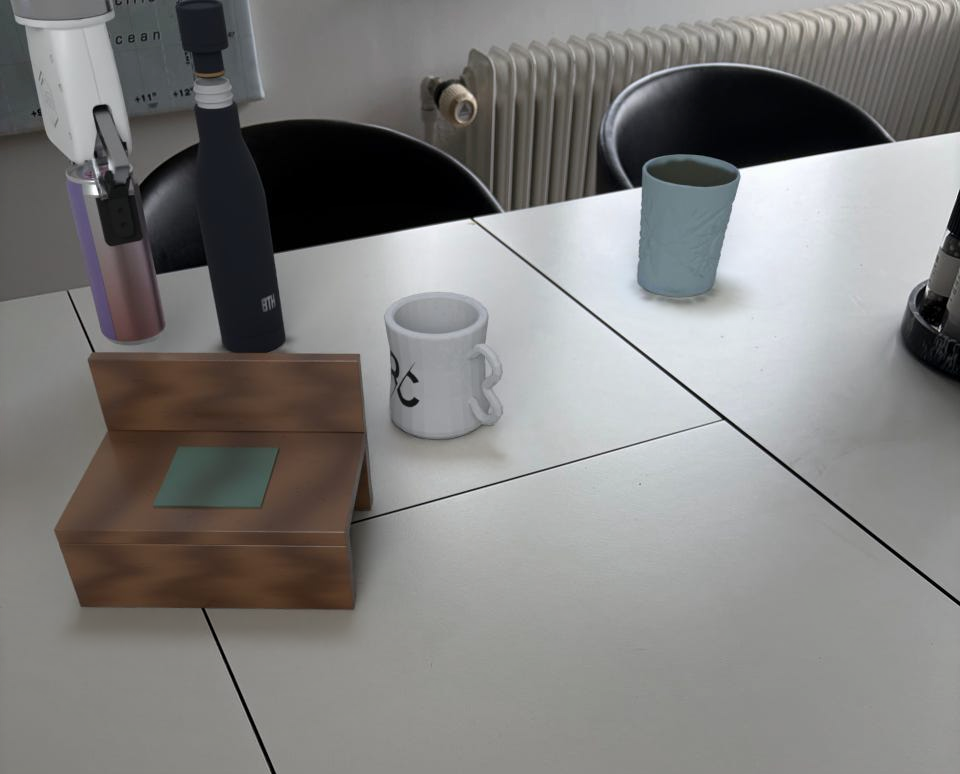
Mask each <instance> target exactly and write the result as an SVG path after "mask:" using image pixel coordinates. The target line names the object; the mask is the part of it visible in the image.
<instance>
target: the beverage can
mask: <svg viewBox="0 0 960 774" xmlns="http://www.w3.org/2000/svg"><path fill="white" fill-rule="evenodd" d="M129 164H130V170H129V172H130V174H129V175H130V176H131V181H132V185H133V188H134V194H135V199H136V204H137V209H138V214H139V219H140V224H141V229H142V234H143V238H142V240H141V241H137V242H132V243H127V244H122V245H117V246H109V245H107V243H106V242H105V239H104V235H103V230H102V226H101V222H100V217H99V213H98V208H97V204H96V199H95V198H98V197H99V194H98V191H97V188H96V185H95V182H94V178H93V175H92V172H91V169H90V165H89V162H88V161H85V164H84V165H78V164H75V165H72V166H70V165H69V166H68V168H66V169H65V176H66V185H65V187H66V191H67V195H68V199H69V203H70V208H71V212H72V217H73V220H74V225H75V227H76V232H77V233H76V234H77V237H78V241H79V245H80V249H81V254H82V258H83V262H84V264H85V265H84V267H85V270H86V274H87V278H88V282H89V286H90V291H91V296H92V299H93V304H94V307H95V312H96V316H97V320H98V324H99V329H100V332H101V333H102V335H103V336H104V337H105V338H106V339H107V340H108V341H109V342H111V343H113V344H115V345H120V346H129V347H130V346H131V347H132V346H139V345H145V344H148V343H152V342H154V341H156V340H157V339H159V338H160V337H161V336H162V334H164V331H165V328H166V317H165V313H164V308H163V303H162V297H161V293H160V288H159V282H158V276H157V271H156V267H155V263H154V257H153V252H152V246H151V242H150V236H149V231H148V226H147V221H146V216H145V210H144V206H143V200H142V196H141V190H140V185H139V180H138V178H137V176H136V174H135V172H134V167H133V165H132V164H131V163H129ZM108 166H109V165H107V166H101V167H100V169H101V173H102V176H103V179H104V175H105V171H108V170H110V169H109V167H108Z"/></svg>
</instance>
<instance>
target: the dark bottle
mask: <svg viewBox="0 0 960 774" xmlns="http://www.w3.org/2000/svg"><path fill="white" fill-rule="evenodd" d="M174 8H175V13H176V14H175V15H176V19H177V24H178V30H179V36H180V42H181V47H182V48H181V49H182V50H183V51H185V52H188V53H191V57H192V63H193V68H194V69H193V73H194V75H195V76H196V78H197V79H195V80H194V81H193V87H192V91H193V92H194V94H195V95H194V100H195V102H196V103H195V104H194V107H193V110H194V111H193V112H194V116H195V121H196V122H195V123H196V127H197V134H198V139H199V141H198V147H197V148H198V149H197V153H196V154H197V155H196V156H197V157H196V163H195V172H194V173H195V174H194V175H195V177H194V191H195V192H194V193H195V195H194V196H195V206H196V211H197V216H198V221H199V227H200V231H201V238H202V242H203V248H204V253H205V258H206V264H207V268H208V273H209V280H210V285H211V290H212V295H213V300H214V307H215V311H216V318H217V322H218V327H219V331H220V339H221V343H222V345H223V347H224V349H225V350H227V351H229V352H230V353H270V352H271V351H274V350H276V349H277V348H280V347H281V346H282V345H283V344H284V343H285V341H286V331H285V322H284V316H283V308H282V303H281V302H282V301H281V295H280V289H279V281H278V274H277V267H276V261H275V260H276V259H275V253H274V245H273V239H272V232H271V226H270V225H271V224H270V218H269V211H268V205H267V203H268V202H267V197H266V191H265V188H264V184H263V181H262V178H261V176H260V173H259V170H258V168H257V164H256V162H255V160H254V158H253V156H252V154H251V152H250V150H249V147H248V145H247V143H246V140H245V139H244V137H243V135H242V128H241V121H240V115H239V114H240V113H239V108H238V104H237V102H235V100H233V98H234V94H233V93H232V89H233V86H232V85H231V83H230V79H228V78H227V77H225V76H224V75H225V74H226V73H227V71H226V68H225V63H224V59H223V53H222V51H224V50H226V49H228V48H229V39H228V31H227V25H226V24H227V23H226V19H225V12H224V5H223V3H222V2H221V1H220V0H183V1H180V2H178V3H176V4H175V7H174Z"/></svg>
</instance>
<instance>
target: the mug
mask: <svg viewBox="0 0 960 774" xmlns="http://www.w3.org/2000/svg"><path fill="white" fill-rule="evenodd" d="M383 319H384V326H385V332H386V336H387V342H388V347H389V360H390V385H389V400H388V401H389V406H388V407H389V408H388V409H389V414H390V418H391V420H392V421H393V422H394V425H396V426H397V427H398V428H400V429H401V430H402V431H404V432H405V433H407V434H410V435H412V436H414V437H417V438H421V439H427V440H429V439H430V440H448V439H454V438H459V437H463V436H466V435H468V434H470V433H472V432H475V430H477V429H478V428H480V427H481V426H482V425H485V426H493V425H494V424H496V423H498V422H499V421H500V420H501V418H502V416H503V414H504V408H503V407H504V406H503V404H502V402H501V400H500V398H499V396H498V395H497V394H496V392H495V390H494V388H493V387H494V386H496V385H497V384H498V383H499V382H500V381H501V379H502V376H503V374H504V372H503V371H504V370H503V364H502V362H501V360H500V357H499V356H498V354H497V353H496V352H495V351H494V349H493V348H492V346H489V345H488V344H487V343H486V341H487V334H488V333H487V332H488V325H489V312H488V309H487V308H486V306H485V305H484V304H483V303H481V302H480V301H479V300H477V299H475V298H474V297H470V296H468V295H465V294H461V293H457V292H456V293H455V292H451V291H450V292H447V291H446V292H445V291H430V292H429V291H427V292H420V293H415V294H411V295H408V296H404V297H402V298H399V299H398V300H396V301H393V302H392V304H390V306H388V307H387V308H386V310H385V312H384V315H383ZM486 361H487V362H488V364H489V367H490V368H491V373H490V375H488V376H487V374H486V373H487V372H486ZM490 407H491V409H492V412H491V413H489V411H490Z"/></svg>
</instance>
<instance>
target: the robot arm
mask: <svg viewBox="0 0 960 774" xmlns="http://www.w3.org/2000/svg"><path fill="white" fill-rule="evenodd" d="M9 1H10V5H11V8H12V12H13V16H14V20H15V22H16V23H17V24H18V25H21V26H24V28H25V34H26V41H27V46H28V48H27V49H28V52H29V59H30V64H31V68H32V73H33V79H34V82H35V88H36V93H37V97H38V102H39V107H40V112H41V118H42V122H43V127H44V130H45V133H46V136H47V138H48V139H49V140H50V142H51V143H52V144H53V145H54V146H55V147H56V148H57V149H58V150H59V151H60V152H61V153H62V154H64V156H65V157H67V159H68V165H69V167H70V166H72V165H75V164H78V165H84V164H85V161H88V162H89V165H90V169H91V172H92V175H93V178H94V182H95V185H96V188H97V191H98V194H99V197H98V198H95V199H96V204H97V208H98V213H99V217H100V222H101V226H102V230H103V235H104V239H105V242H106V243H107V245H109V246H117V245H122V244H127V243H132V242H137V241H141V240H142V238H143V234H142V229H141V224H140V219H139V214H138V209H137V204H136V199H135V194H134V188H133V185H132V181H131V176H130V175H129V174H130V172H129V170H130V164H131V163H130V161H129V157H130V156H131V154H132V152H133V140H132V133H131V126H130V121H129V115H128V111H127V107H126V102H125V98H124V93H123V88H122V84H121V79H120V75H119V71H118V66H117V63H116V59H115V53H114V49H113V47H112V46H113V45H112V42H111V39H110V35H109V32H108V29H107V24H106V23H107V22H110V21H111V20H113V19H115V18H116V13H115V8H114V7H115V6H114V2H113V0H9ZM103 150H104V151H103ZM103 152H104V153H105V155H106V156H104V154H103ZM107 165H109V166H108V167H109V169H110V170H108V171H105V175H104V179H103V176H102V173H101V169H100V167H101V166H107Z"/></svg>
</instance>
